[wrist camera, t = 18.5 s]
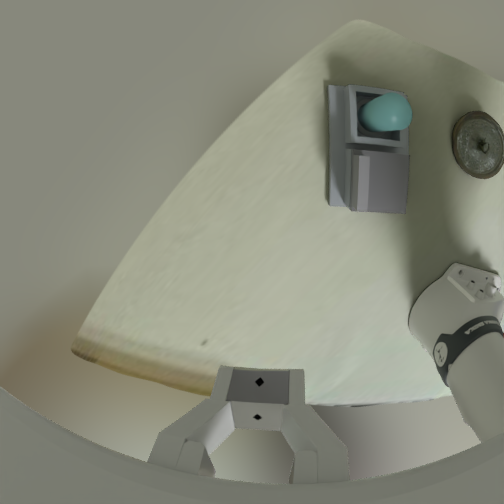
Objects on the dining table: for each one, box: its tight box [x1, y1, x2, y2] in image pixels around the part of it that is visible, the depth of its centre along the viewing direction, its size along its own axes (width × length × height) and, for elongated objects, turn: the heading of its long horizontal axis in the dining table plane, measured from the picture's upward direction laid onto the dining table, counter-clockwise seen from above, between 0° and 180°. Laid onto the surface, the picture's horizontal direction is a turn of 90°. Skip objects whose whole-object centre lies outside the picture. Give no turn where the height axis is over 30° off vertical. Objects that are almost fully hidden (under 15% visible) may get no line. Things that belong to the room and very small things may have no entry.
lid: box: [452, 111, 504, 179], centre depth 26 cm, size 11×10×5 cm
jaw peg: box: [357, 92, 412, 132], centre depth 25 cm, size 4×4×8 cm
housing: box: [327, 84, 409, 209], centre depth 29 cm, size 16×11×4 cm
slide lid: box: [350, 149, 410, 214], centre depth 27 cm, size 7×7×3 cm
